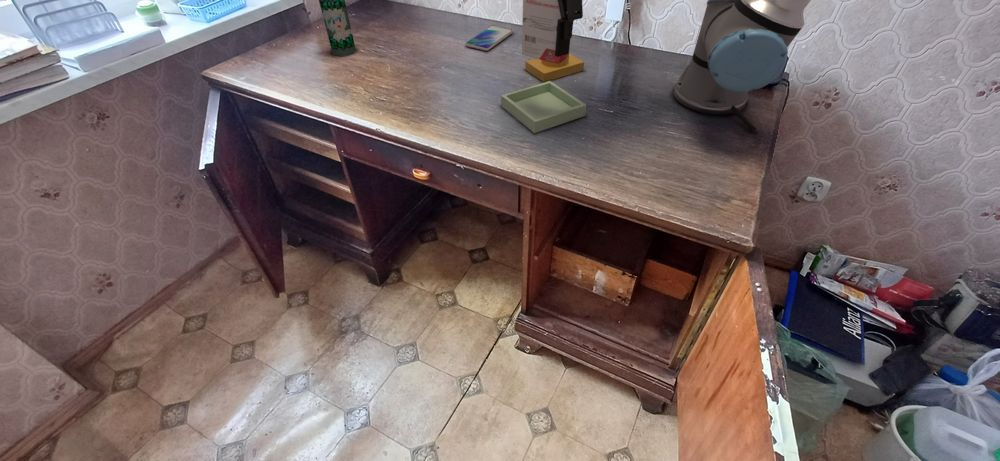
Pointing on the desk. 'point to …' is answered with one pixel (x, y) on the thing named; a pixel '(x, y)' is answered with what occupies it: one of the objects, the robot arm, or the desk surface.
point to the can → (338, 26)
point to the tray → (543, 106)
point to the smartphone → (489, 38)
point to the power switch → (554, 68)
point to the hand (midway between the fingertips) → (546, 45)
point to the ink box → (541, 30)
